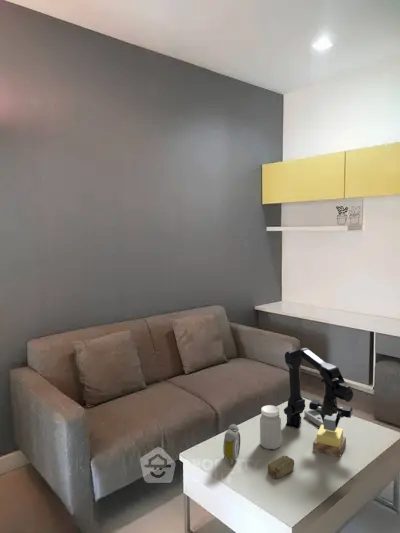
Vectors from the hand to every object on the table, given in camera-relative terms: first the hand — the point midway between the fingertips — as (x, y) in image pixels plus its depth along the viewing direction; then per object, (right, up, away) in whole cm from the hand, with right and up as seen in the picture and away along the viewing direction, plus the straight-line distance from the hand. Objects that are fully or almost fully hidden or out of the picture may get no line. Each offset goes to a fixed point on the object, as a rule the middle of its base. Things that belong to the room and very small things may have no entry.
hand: (330, 425), depth 189 cm
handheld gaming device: (+3, -8, +26) cm, 27 cm away
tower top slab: (0, -7, +1) cm, 7 cm away
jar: (-27, -11, +4) cm, 30 cm away
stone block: (-26, -14, -17) cm, 34 cm away
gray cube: (0, -1, 0) cm, 1 cm away
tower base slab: (0, -11, +1) cm, 11 cm away
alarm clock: (-47, -13, -7) cm, 49 cm away
